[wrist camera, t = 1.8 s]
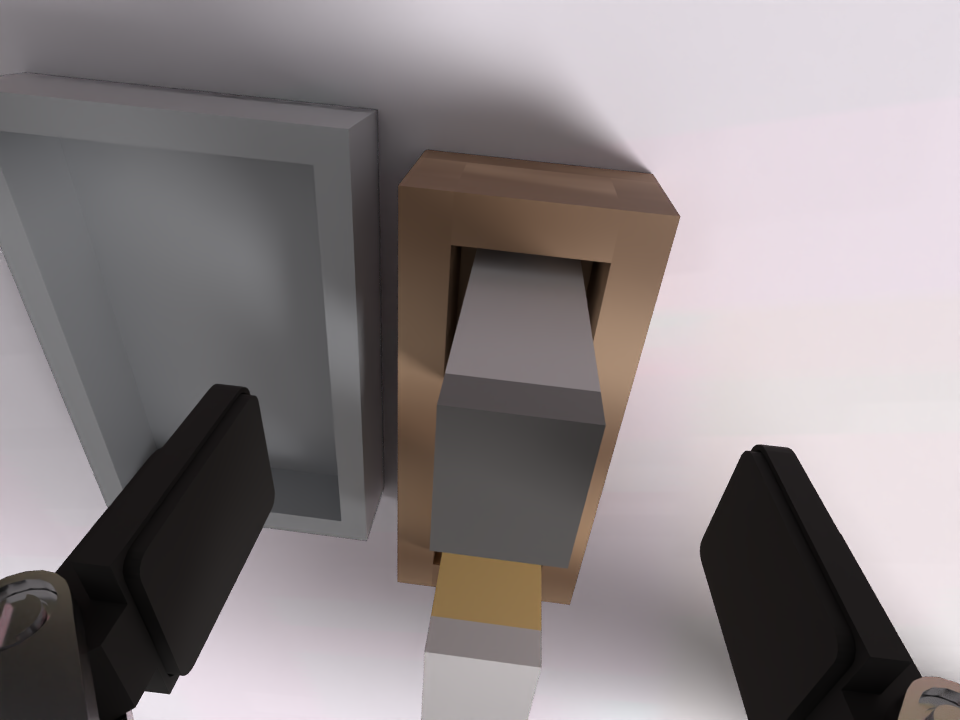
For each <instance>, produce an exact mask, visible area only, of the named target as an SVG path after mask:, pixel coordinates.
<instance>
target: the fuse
mask: <svg viewBox="0 0 960 720" xmlns="http://www.w3.org/2000/svg"><path fill="white" fill-rule="evenodd" d="M540 671H541V565H536V564H528V563H521V562H513V561H505V560H498V559H490V558H483V557H475V556H467V555H460V554H452V553H444V552H442V557H441V563H440V568H439V574H438V579H437V585H436V591H435V596H434V602H433V607H432V613H431V618H430V624H429V630H428V635H427V641H426V646H425V653H424V673H423V693H422V713H421V720H528V716H529V713H530V709H531V705H532V701H533V697H534V694H535V690H536V686H537V682H538V679H539V675H540Z"/></svg>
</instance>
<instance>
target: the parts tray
mask: <svg viewBox="0 0 960 720" xmlns="http://www.w3.org/2000/svg"><path fill="white" fill-rule="evenodd" d="M0 246H1V249H2V251H3V254H4V256H5V259H6V261H7V263H8V266H9V268H10V271H11V273H12V276H13V278H14V281H15V283H16V285H17V288H18V290H19V293H20V295H21V298H22V300H23V302H24V305H25V307H26V310H27V312H28V315H29V317H30V320H31V322H32V324H33V327H34V329H35V332H36V334H37V337H38V339H39V342H40V344H41V346H42V349H43V351H44V354H45V356H46V359H47V361H48V364H49V366H50V368H51V371H52V373H53V376H54V378H55V381H56V383H57V385H58V388H59V390H60V393H61V395H62V398H63V400H64V403H65V405H66V407H67V410H68V412H69V415H70V417H71V420H72V422H73V425H74V427H75V429H76V432H77V434H78V437H79V439H80V442H81V444H82V447H83V449H84V451H85V454H86V456H87V459H88V461H89V464H90V466H91V468H92V471H93V473H94V476H95V478H96V481H97V483H98V486H99V488H100V490H101V493H102V495H103V498H104V500H105V503H106V505H107V507H109V506H110V505H111V504H112V502H113V501H114V500H115V499H116V497H117V496H118V495H119V494H120V493H121V491H122V490H123V489H124V488H125V486H126V485H127V484H128V483H129V482H130V480H131V479H132V478H133V477H134V475H135V474H136V473H137V472H138V470H139V469H140V468H141V467H142V466H143V464H144V463H145V462H146V461H147V459H148V458H149V457H150V456H151V455H152V454H153V453H154V452H155V451H156V450H157V449H159V448H162V447H163V446H164V445H165V443H166V442H167V441H168V440H169V438H170V437H171V436H172V435H173V433H174V432H175V431H176V430H177V428H178V427H179V426H180V425H181V423H182V422H183V421H184V420H185V419H186V417H187V416H188V415H189V414H190V412H191V411H192V410H193V409H194V407H195V406H196V405H197V404H198V402H199V401H200V400H201V399H202V397H203V396H204V395H205V394H206V392H207V391H208V390H209V389H210V388H211V387H212V386H213V385H214V384H225V385H234V386H243V387H247V388H248V390H249V391H250V395H255V396H257V398H258V401H259V406H260V411H261V417H262V422H263V428H264V433H265V439H266V445H267V450H268V456H269V461H270V467H271V472H272V478H273V484H274V489H275V499H274V504H273V507H272V510H271V512H270V514H269V516H268V518H267V520H266V522H265V524H264V526H263V527H264V528H271V529H279V530H287V531H294V532H302V533H310V534H317V535H325V536H333V537H340V538H348V539H356V540H363V541H367V539H368V536H369V532H370V529H371V526H372V523H373V520H374V517H375V514H376V511H377V508H378V505H379V501H380V498H381V495H382V492H383V489H384V463H383V405H382V347H381V289H380V231H379V174H378V116H377V110H375V109H365V108H356V107H346V106H337V105H327V104H318V103H308V102H299V101H289V100H280V99H270V98H261V97H251V96H242V95H232V94H223V93H213V92H204V91H194V90H185V89H175V88H166V87H156V86H147V85H137V84H128V83H118V82H109V81H99V80H90V79H80V78H71V77H61V76H52V75H42V74H33V73H16V74H9V75H2V76H0Z"/></svg>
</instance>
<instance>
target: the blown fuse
mask: <svg viewBox="0 0 960 720" xmlns="http://www.w3.org/2000/svg"><path fill="white" fill-rule="evenodd" d="M605 427H606V423H605V417H604V410H603V404H602V397H601V390H600V384H599V377H598V371H597V364H596V358H595V351H594V345H593V338H592V332H591V325H590V318H589V312H588V305H587V299H586V292H585V286H584V279H583V273H582V266H581V260H579V259H570V258H562V257H553V256H544V255H535V254H526V253H517V252H508V251H499V250H491V249H482V248H477V251H476V255H475V259H474V262H473V266H472V270H471V274H470V278H469V282H468V286H467V290H466V294H465V297H464V301H463V305H462V309H461V313H460V317H459V321H458V325H457V329H456V332H455V336H454V340H453V344H452V348H451V352H450V356H449V360H448V363H447V367H446V371H445V375H444V379H443V383H442V387H441V391H440V395H439V398H438V402H437V412H436V432H435V452H434V472H433V492H432V512H431V532H430V551H437V552H444V553H452V554H460V555H467V556H475V557H483V558H490V559H498V560H505V561H513V562H521V563H528V564H536V565H544V566H551V567H559V568H567V569H568V566H569V562H570V558H571V554H572V551H573V547H574V543H575V539H576V536H577V532H578V528H579V524H580V521H581V517H582V513H583V509H584V506H585V502H586V498H587V494H588V490H589V487H590V483H591V479H592V475H593V472H594V468H595V464H596V460H597V457H598V453H599V449H600V445H601V442H602V438H603V434H604V430H605Z"/></svg>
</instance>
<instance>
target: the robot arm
mask: <svg viewBox="0 0 960 720" xmlns="http://www.w3.org/2000/svg"><path fill="white" fill-rule="evenodd" d="M274 499H275V489H274V484H273V478H272V472H271V467H270V461H269V456H268V450H267V445H266V439H265V433H264V428H263V422H262V417H261V411H260V406H259V401H258V398H257V396H255V395H250V391H249V390H248V388H247V387H243V386H234V385H225V384H214V385H213V386H212V387H211V388H210V389H209V390H208V391H207V392H206V394H205V395H204V396H203V397H202V399H201V400H200V401H199V402H198V404H197V405H196V406H195V407H194V409H193V410H192V411H191V412H190V414H189V415H188V416H187V417H186V419H185V420H184V421H183V422H182V423H181V425H180V426H179V427H178V428H177V430H176V431H175V432H174V433H173V435H172V436H171V437H170V438H169V440H168V441H167V442H166V443H165V445H164V446H163V447H162V448H159V449H157V450H156V451H155V452H154V453H153V454H152V455H151V456H150V457H149V458H148V459H147V461H146V462H145V463H144V464H143V466H142V467H141V468H140V469H139V470H138V472H137V473H136V474H135V475H134V477H133V478H132V479H131V480H130V482H129V483H128V484H127V485H126V486H125V488H124V489H123V490H122V491H121V493H120V494H119V495H118V496H117V497H116V499H115V500H114V501H113V502H112V504H111V505H110V506H109V507H108V509H107V510H106V511H105V512H104V513H103V515H102V516H101V517H100V518H99V520H98V521H97V522H96V523H95V524H94V526H93V527H92V528H91V529H90V531H89V532H88V533H87V534H86V536H85V537H84V538H83V539H82V540H81V542H80V543H79V544H78V545H77V547H76V548H75V549H74V550H73V551H72V553H71V554H70V555H69V556H68V558H67V559H66V560H65V561H64V563H63V564H62V565H61V566H60V567H59V569H58V570H57V571H56V572H55V573H54V572H49V571H44V570H37V571H25V572H22V573H18V574H15V575H11V576H7V577H5V578H3V579H1V580H0V720H134V718H133V713H132V709H134V708H135V707H136V705H137V704H138V702H139V700H140V698H141V696H142V695H143V693H144V691H148V692H156V693H164V694H170V693H171V691H172V689H173V687H174V685H175V683H176V681H177V679H178V677H179V676H180V675H181V676H185V675H187V674H188V673H189V672H190V671H191V670H192V668H193V666H194V664H195V662H196V660H197V658H198V656H199V654H200V652H201V650H202V648H203V646H204V644H205V642H206V640H207V638H208V636H209V634H210V632H211V630H212V628H213V626H214V624H215V622H216V620H217V618H218V616H219V614H220V612H221V610H222V608H223V606H224V604H225V602H226V600H227V598H228V596H229V594H230V592H231V590H232V588H233V586H234V584H235V582H236V580H237V578H238V576H239V574H240V572H241V570H242V568H243V566H244V564H245V562H246V560H247V558H248V556H249V554H250V552H251V550H252V548H253V546H254V544H255V542H256V540H257V538H258V536H259V534H260V532H261V530H262V528H263V526H264V524H265V522H266V520H267V518H268V516H269V514H270V512H271V510H272V507H273V504H274ZM700 557H701V562H702V565H703V568H704V572H705V575H706V579H707V582H708V585H709V589H710V592H711V596H712V599H713V602H714V606H715V609H716V612H717V616H718V619H719V623H720V626H721V629H722V633H723V636H724V639H725V643H726V646H727V650H728V653H729V656H730V660H731V663H732V667H733V670H734V673H735V677H736V680H737V683H738V687H739V690H740V694H741V697H742V700H743V704H744V707H745V711H746V714H747V717H748V720H960V684H958V683H956V682H953V681H950V680H946V679H943V678H940V677H922V676H921V674H920V673H919V671H918V669H917V667H916V666H915V664H914V662H913V660H912V659H911V657H910V655H909V653H908V651H907V650H906V648H905V646H904V644H903V643H902V641H901V639H900V637H899V636H898V634H897V632H896V630H895V628H894V627H893V625H892V623H891V621H890V620H889V618H888V616H887V614H886V613H885V611H884V609H883V607H882V606H881V604H880V602H879V600H878V598H877V597H876V595H875V593H874V591H873V590H872V588H871V586H870V584H869V583H868V581H867V579H866V577H865V575H864V574H863V572H862V570H861V568H860V567H859V565H858V563H857V561H856V560H855V558H854V556H853V554H852V553H851V551H850V549H849V547H848V545H847V544H846V542H845V540H844V538H843V537H842V535H841V534H840V532H839V531H838V529H837V527H836V525H835V524H834V522H833V520H832V518H831V517H830V515H829V513H828V511H827V510H826V508H825V506H824V504H823V502H822V501H821V499H820V497H819V495H818V494H817V492H816V490H815V488H814V487H813V485H812V483H811V481H810V479H809V478H808V476H807V474H806V472H805V471H804V469H803V467H802V465H801V463H800V462H799V460H798V458H797V456H796V455H795V453H794V452H793V451H792V449H790V448H787V447H778V446H769V445H755V446H754V447H753V448H752V450H751V451H745V452H744V453H743V454H742V455H741V457H740V459H739V462H738V464H737V466H736V468H735V470H734V472H733V474H732V477H731V479H730V481H729V483H728V485H727V487H726V489H725V492H724V494H723V496H722V498H721V500H720V502H719V504H718V507H717V509H716V511H715V513H714V515H713V517H712V519H711V521H710V524H709V526H708V528H707V530H706V532H705V534H704V536H703V539H702V541H701V545H700Z"/></svg>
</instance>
